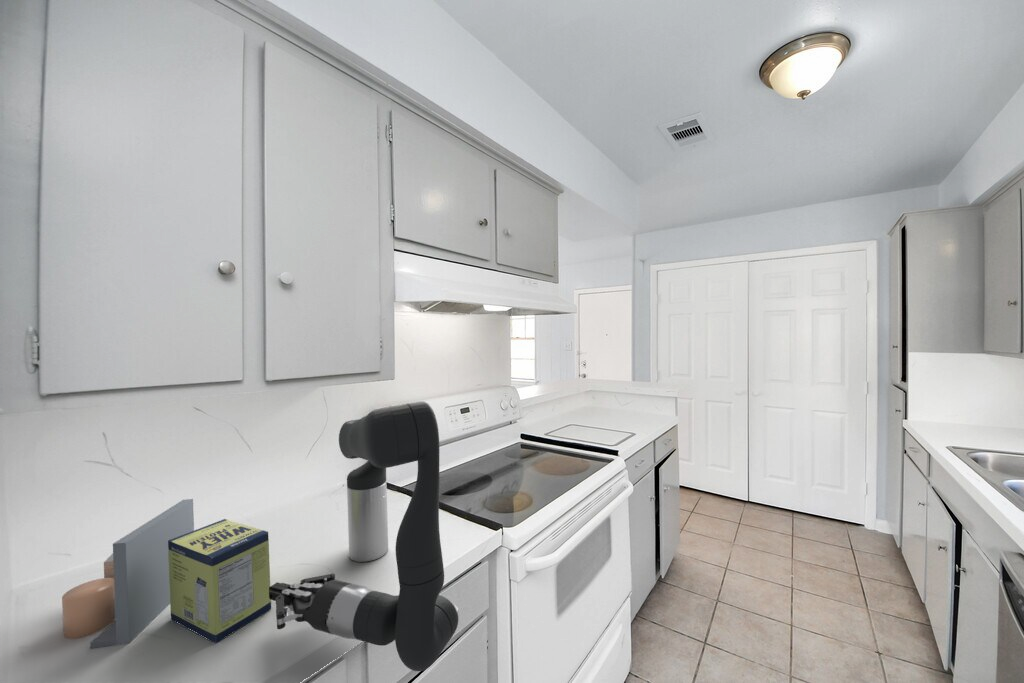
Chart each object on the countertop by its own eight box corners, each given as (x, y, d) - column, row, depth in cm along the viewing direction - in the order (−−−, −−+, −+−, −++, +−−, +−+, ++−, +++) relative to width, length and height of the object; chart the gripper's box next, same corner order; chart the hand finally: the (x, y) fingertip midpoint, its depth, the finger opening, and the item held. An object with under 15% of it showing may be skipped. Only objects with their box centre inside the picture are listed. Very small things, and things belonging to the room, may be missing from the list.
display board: (165, 581, 91) (162, 501, 91) (195, 578, 92) (192, 498, 92) (90, 648, 72) (86, 546, 72) (129, 643, 73) (125, 542, 73)
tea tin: (116, 592, 88) (114, 551, 88) (146, 586, 90) (144, 545, 90) (105, 606, 83) (103, 562, 83) (137, 599, 85) (135, 556, 85)
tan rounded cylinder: (85, 615, 81) (83, 580, 81) (125, 610, 82) (124, 575, 82) (51, 641, 74) (50, 603, 74) (96, 635, 75) (95, 597, 75)
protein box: (226, 589, 88) (224, 517, 88) (273, 608, 81) (270, 531, 81) (168, 620, 79) (165, 539, 79) (215, 645, 72) (212, 557, 72)
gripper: (371, 566, 77) (301, 552, 83) (314, 612, 64) (237, 590, 70) (372, 606, 77) (302, 589, 83) (316, 659, 64) (238, 634, 70)
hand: (272, 590), depth 77 cm, fingers closed
